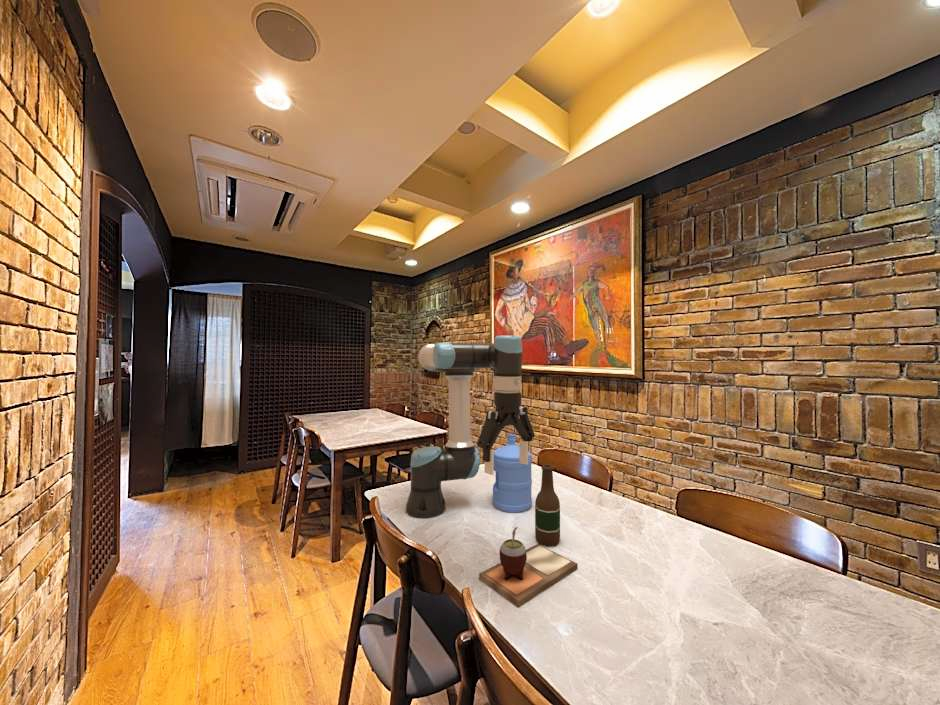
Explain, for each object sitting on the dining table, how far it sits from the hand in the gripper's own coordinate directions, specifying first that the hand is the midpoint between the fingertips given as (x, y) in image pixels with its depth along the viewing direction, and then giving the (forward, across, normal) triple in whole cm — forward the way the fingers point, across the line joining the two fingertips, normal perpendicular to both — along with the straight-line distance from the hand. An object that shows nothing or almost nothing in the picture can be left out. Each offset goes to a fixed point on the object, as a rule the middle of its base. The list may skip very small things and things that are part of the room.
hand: (507, 468), depth 99 cm
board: (+28, +3, -6) cm, 29 cm away
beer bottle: (+28, +21, +2) cm, 36 cm away
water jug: (+29, +33, +30) cm, 53 cm away
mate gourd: (+26, -3, -5) cm, 27 cm away
